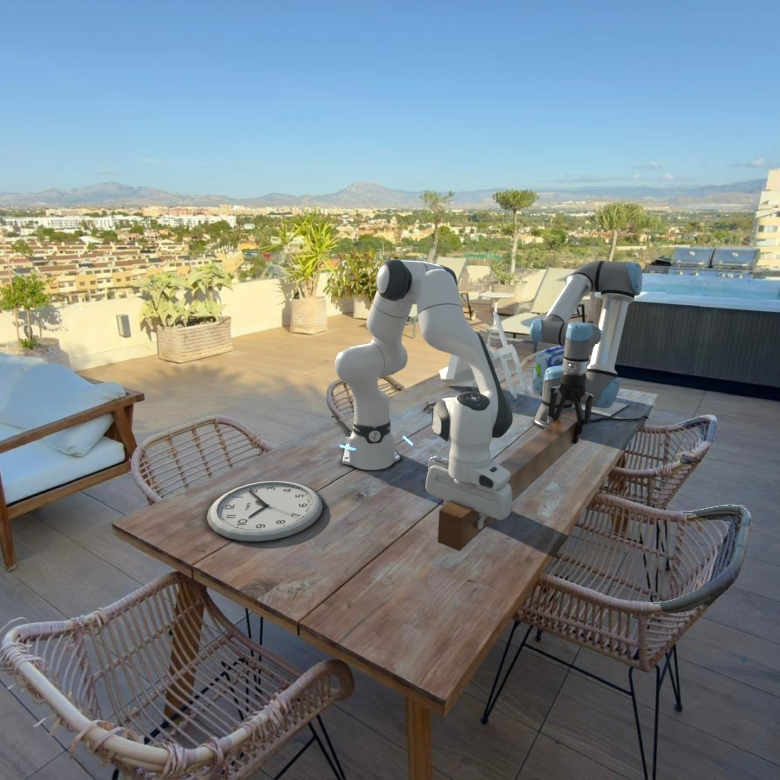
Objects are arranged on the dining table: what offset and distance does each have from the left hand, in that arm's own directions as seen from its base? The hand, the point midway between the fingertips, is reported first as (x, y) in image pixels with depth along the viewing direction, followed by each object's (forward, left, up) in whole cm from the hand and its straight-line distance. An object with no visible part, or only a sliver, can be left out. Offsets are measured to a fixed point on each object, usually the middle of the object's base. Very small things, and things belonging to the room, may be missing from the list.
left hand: (465, 522), depth 118 cm
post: (-23, +25, -3) cm, 34 cm away
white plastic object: (-120, +49, -9) cm, 130 cm away
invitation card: (-93, +94, -9) cm, 133 cm away
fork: (-105, +20, -9) cm, 107 cm away
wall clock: (-29, -45, -9) cm, 55 cm away
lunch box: (-118, +84, -9) cm, 145 cm away
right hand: (-46, +51, -2) cm, 68 cm away
